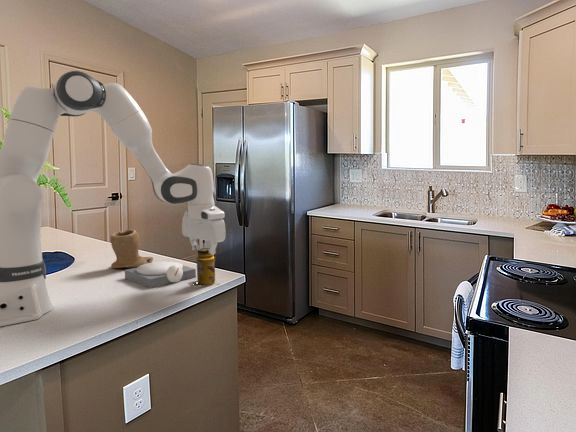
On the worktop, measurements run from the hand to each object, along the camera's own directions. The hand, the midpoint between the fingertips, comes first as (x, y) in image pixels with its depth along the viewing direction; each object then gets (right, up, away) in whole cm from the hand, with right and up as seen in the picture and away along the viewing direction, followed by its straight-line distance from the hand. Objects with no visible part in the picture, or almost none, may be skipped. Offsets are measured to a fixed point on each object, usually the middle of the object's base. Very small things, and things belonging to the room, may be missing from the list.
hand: (203, 251), depth 150 cm
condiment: (0, -11, +1) cm, 11 cm away
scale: (-17, -10, +9) cm, 22 cm away
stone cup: (-33, -8, +24) cm, 42 cm away
